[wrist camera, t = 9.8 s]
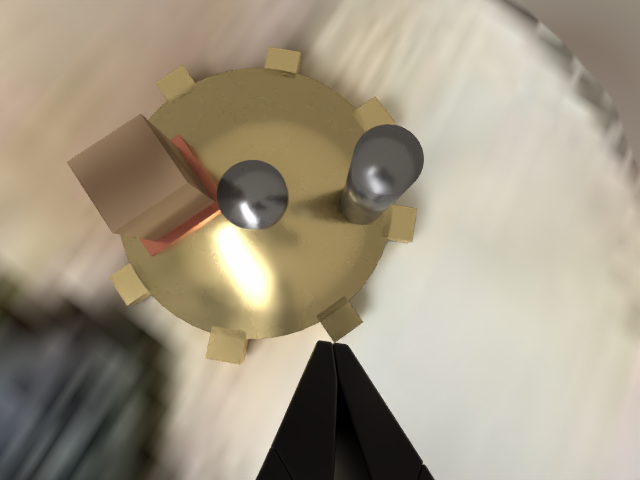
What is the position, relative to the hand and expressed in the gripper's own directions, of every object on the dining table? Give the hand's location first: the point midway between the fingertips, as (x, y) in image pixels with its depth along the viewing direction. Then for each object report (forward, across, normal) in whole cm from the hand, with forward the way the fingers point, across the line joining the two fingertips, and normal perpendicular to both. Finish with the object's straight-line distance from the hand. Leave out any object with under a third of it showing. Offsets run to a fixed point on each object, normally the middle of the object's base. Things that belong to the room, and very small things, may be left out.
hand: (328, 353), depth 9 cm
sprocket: (+15, +4, +2) cm, 16 cm away
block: (+14, +10, +3) cm, 17 cm away
